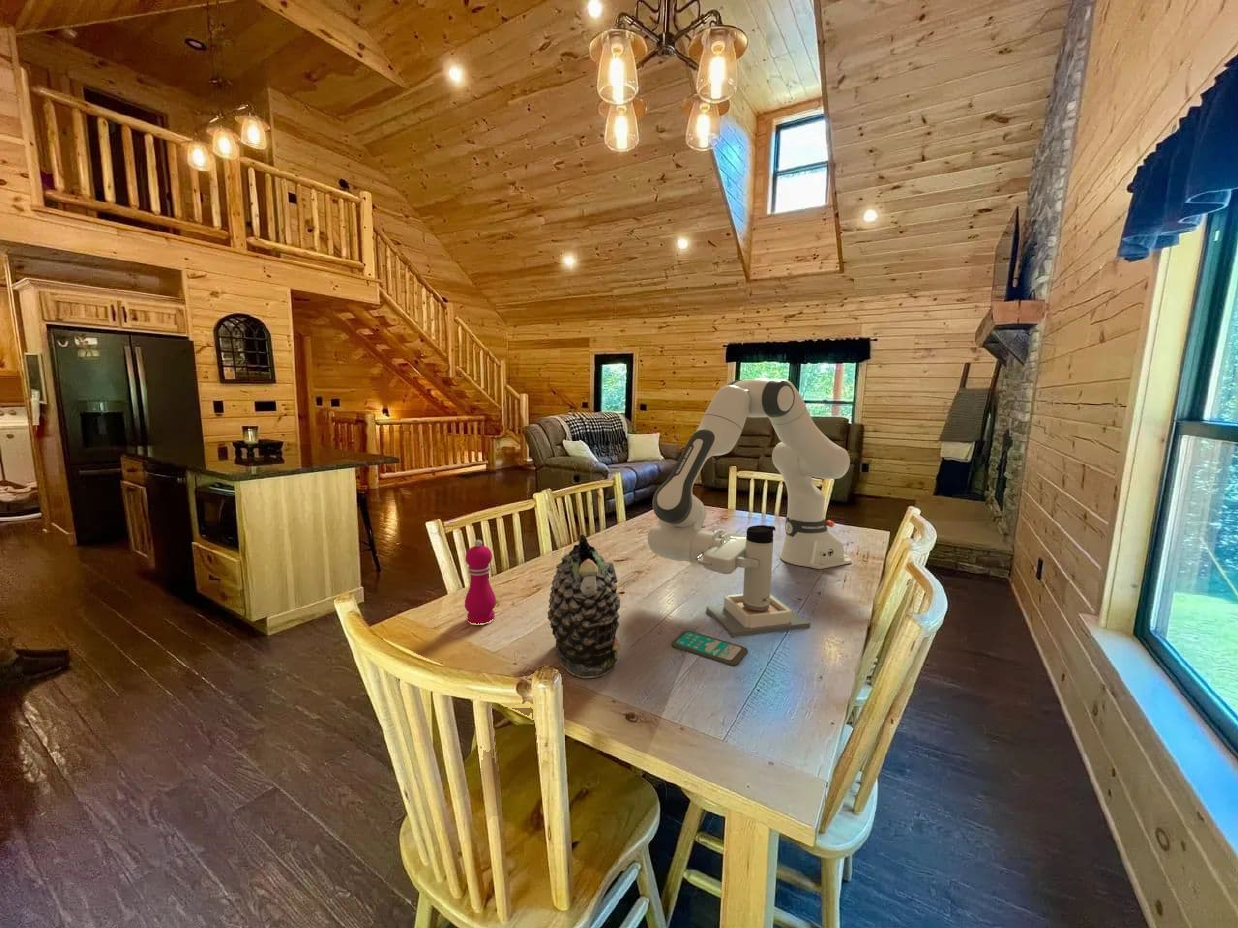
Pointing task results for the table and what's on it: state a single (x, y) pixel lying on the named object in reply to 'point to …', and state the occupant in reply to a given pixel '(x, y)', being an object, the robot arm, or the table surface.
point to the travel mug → (760, 577)
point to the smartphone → (710, 648)
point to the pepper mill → (479, 585)
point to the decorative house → (585, 612)
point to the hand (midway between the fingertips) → (763, 559)
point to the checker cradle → (755, 618)
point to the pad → (748, 611)
